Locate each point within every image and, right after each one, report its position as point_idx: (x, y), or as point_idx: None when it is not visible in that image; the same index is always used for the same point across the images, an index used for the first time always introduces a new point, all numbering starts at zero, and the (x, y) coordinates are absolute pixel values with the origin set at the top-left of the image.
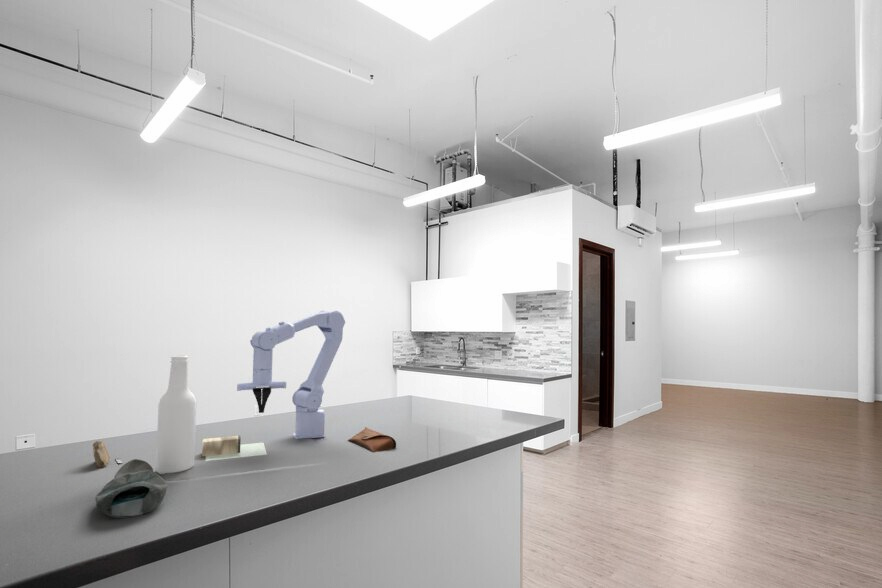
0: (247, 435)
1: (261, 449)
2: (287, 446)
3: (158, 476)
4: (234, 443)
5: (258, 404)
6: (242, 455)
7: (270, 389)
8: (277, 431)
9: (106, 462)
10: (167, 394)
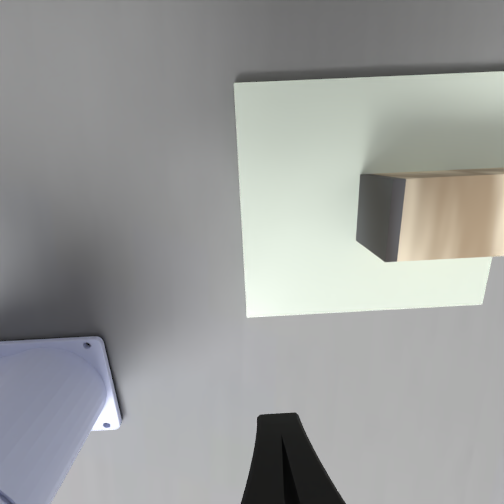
0: None
1: (258, 195)
2: (136, 245)
3: None
4: (413, 175)
5: (330, 487)
6: (354, 110)
7: None
8: (189, 482)
9: None
10: None
